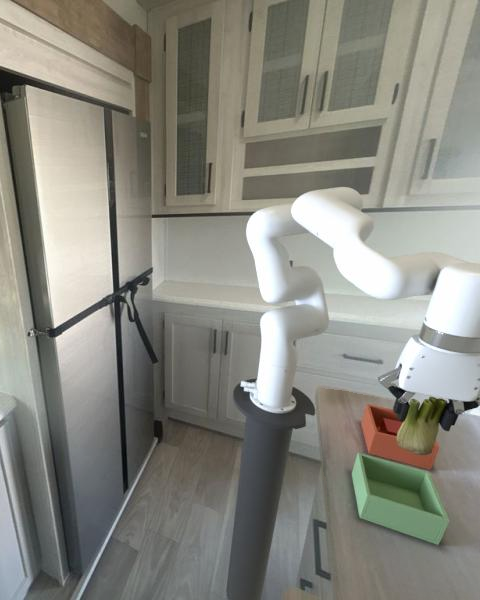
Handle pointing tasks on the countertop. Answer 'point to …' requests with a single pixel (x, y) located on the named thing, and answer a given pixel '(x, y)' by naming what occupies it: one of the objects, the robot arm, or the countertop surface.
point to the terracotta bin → (390, 439)
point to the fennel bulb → (421, 426)
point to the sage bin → (399, 498)
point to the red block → (390, 426)
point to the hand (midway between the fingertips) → (420, 420)
